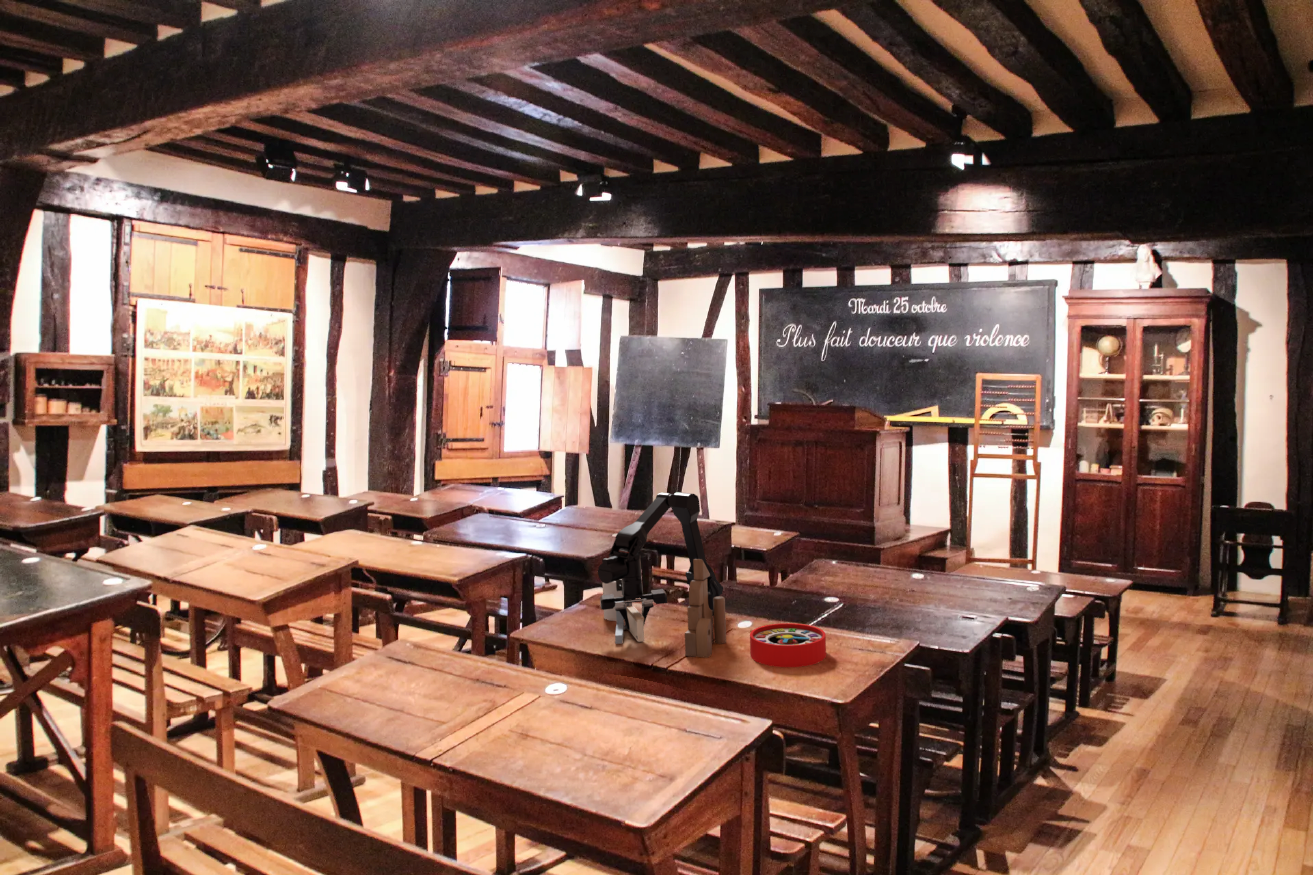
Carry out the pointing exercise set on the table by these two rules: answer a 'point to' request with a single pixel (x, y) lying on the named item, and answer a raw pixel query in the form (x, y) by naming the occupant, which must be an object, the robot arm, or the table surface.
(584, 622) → the table surface
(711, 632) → the wooden toy
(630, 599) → the grey metallic round-topped post
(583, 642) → the table surface
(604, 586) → the off-white flat-topped cylinder
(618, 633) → the strip
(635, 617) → the beige flat block
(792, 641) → the toy clock
